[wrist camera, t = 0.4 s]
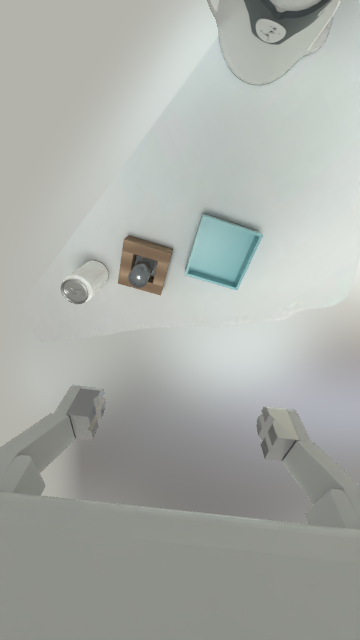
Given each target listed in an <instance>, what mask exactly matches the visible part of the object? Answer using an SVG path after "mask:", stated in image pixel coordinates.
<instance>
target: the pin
mask: <svg viewBox="0 0 360 640" xmlns="http://www.w3.org/2000/svg"><path fill="white" fill-rule="evenodd" d="M154 266H155V262H154V260H152V259H149V258H145V257H141V258H140V259H139V261H138V262H137V263H136V265H135V266H134V268H133V269H132V270H131V272H130V273H129V275H128V280H129V282H130V284H131V285H132V286H134V287H137V288H141V287H144V286H145V285H146V283H147V281H148V279H149V277H150V275H151V273H152V271H153V269H154Z"/></svg>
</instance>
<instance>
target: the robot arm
mask: <svg viewBox="0 0 360 640" xmlns="http://www.w3.org/2000/svg"><path fill="white" fill-rule="evenodd" d="M207 1H208V4H209V7H210V9H211V11H212V13H213V15H214V17H215V19H216V22H217V26H218V32H219V40H220V45H221V49H222V53H223V56H224V58H225V60H226V63H227V64H228V66H229V68H230V69H231V71H232V72H233V73H234V74H235V75H236V76H237V77H238V78H239V79H241V80H242V81H244V82H246V83H249V84H254V85H262V84H267V83H270V82H272V81H274V80H276V79H278V78H280V77H281V76H282V75H284V74H285V73H286V72H287V71H288V70H289V69H290V68H291V67H292V66H293V65H294V64H295V63H296V62H297V61H298V60H299V59H301V58H302V57H304V56H307V55H309V54H311V53H313V52H315V51H317V50H318V49H319V48H320V47H321V46H322V45H323V43H324V42H325V40H326V38H327V36H328V33H329V30H330V26H331V23H332V19H333V16H334V14H335V13H336V11H337V9H338V8H339V6H340V3H341V0H207ZM103 396H104V389H102V388H94V387H87V386H80V385H72V386H71V387H70V388H69V390H68V392H67V393H66V395H65V396H64V398H63V400H62V401H61V403H60V405H59V406H58V408H57V409H56V411H55V413H54V414H49V415H48V416H46V417H45V418H43V419H42V420H40V421H39V422H37V423H36V424H34V425H33V426H31V427H30V428H29V429H27V430H25V431H24V432H22V433H21V434H19V435H18V436H16V437H15V438H13V439H12V440H11V441H9V442H7V443H6V444H5V445H3V446H1V447H0V640H360V485H359V484H358V483H357V482H356V481H355V480H353V479H352V478H351V477H350V476H349V475H348V474H347V473H346V472H345V471H344V470H343V469H342V468H341V467H340V466H339V465H338V464H337V463H335V462H334V461H333V460H332V459H331V458H330V457H329V456H328V455H327V454H326V453H325V452H324V451H323V450H322V449H321V448H320V447H319V446H317V445H316V444H315V443H313V442H311V440H310V438H309V436H308V434H307V432H306V430H305V428H304V425H303V423H302V421H301V419H300V417H299V415H298V413H297V411H296V410H293V409H284V408H276V407H266V406H265V407H263V409H262V415H260V416H259V417H258V419H257V432H258V435H259V436H260V438H261V439H262V440H263V441H262V443H261V447H262V450H263V454H264V458H265V459H271V460H278V461H282V463H283V464H284V466H285V467H286V468H287V470H288V471H289V472H290V474H291V475H292V476H293V477H294V479H295V480H296V481H297V483H298V484H299V485H300V487H301V488H302V490H303V491H304V492H305V493H306V495H307V496H308V498H309V499H310V500H311V502H312V503H313V504H314V505H313V506H312V507H311V508H309V509H308V511H307V512H306V514H305V515H306V517H307V520H308V524H302V523H292V522H283V521H274V520H264V519H255V518H246V517H245V518H244V517H236V516H227V515H216V514H208V513H199V512H189V511H180V510H171V509H161V508H152V507H142V506H132V505H124V504H114V503H105V502H95V501H85V500H76V499H67V498H58V497H48V496H41V494H42V492H43V490H44V488H45V483H44V481H43V479H42V477H41V476H40V472H42V471H43V470H44V469H45V468H46V467H47V466H48V465H49V464H50V463H51V462H52V461H53V460H54V459H55V458H56V457H57V456H58V455H60V454H61V453H62V451H64V450H65V449H66V448H67V447H68V446H69V445H70V444H71V443H72V442H73V441H74V440H75V438H77V439H89V440H93V439H94V436H95V434H96V431H97V429H98V421H99V420H100V419H101V418H102V416H103V414H104V410H105V403H106V401H105V398H104V397H103Z"/></svg>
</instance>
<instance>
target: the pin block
mask: <svg viewBox="0 0 360 640" xmlns="http://www.w3.org/2000/svg"><path fill="white" fill-rule="evenodd" d="M172 251H173V249H171V248H168V247H164V246H161V245H158V244H155V243H151V242H148V241H145V240H142V239H138V238H135V237H132V236H128V237H126V238H125V239H124V243H123V250H122V258H121V265H120V272H119V279H118V284H122V285H126V286H129V287H133V288H136V289H140V290H143V291H147V292H150V293H154V294H158V295H161V292H162V289H163V285H164V281H165V277H166V274H167V270H168V266H169V262H170V258H171V255H172ZM136 255H139V256H142V257H145V258H149V259H152V260H156V261H158V263H157V267H156V272H155V276H154V277H152V276H150V277H149V279H148V281H147V283H146V285H145V286H144V287H141V288H137V287H134V286H132V285H131V284H130V282H129V280H128V275H129V273H130V272H131V270H132V269H133V268H134V266H135V261H136Z"/></svg>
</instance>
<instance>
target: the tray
mask: <svg viewBox="0 0 360 640" xmlns="http://www.w3.org/2000/svg"><path fill="white" fill-rule="evenodd" d="M262 237H263V234H261V233H260V232H258V231H256V230H253V229H250V228H246V227H243V226H240V225H237V224H234V223H231V222H228V221H225V220H222V219H219V218H216V217H213V216H210V215H207V214H204V213H203V214H202V217H201V220H200V223H199V227H198V230H197V233H196V236H195V240H194V243H193V246H192V249H191V252H190V256H189V259H188V262H187V265H186V269H185V275H187V276H190V277H194V278H197V279H200V280H204V281H207V282H211V283H214V284H217V285H221V286H224V287H228V288H231V289H234V290H237V289H238V287H239V285H240V283H241V281H242V279H243V277H244V275H245V272H246V270H247V268H248V266H249V264H250V262H251V260H252V258H253V256H254V253H255V251H256V249H257V247H258V245H259V243H260V241H261V239H262Z"/></svg>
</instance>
